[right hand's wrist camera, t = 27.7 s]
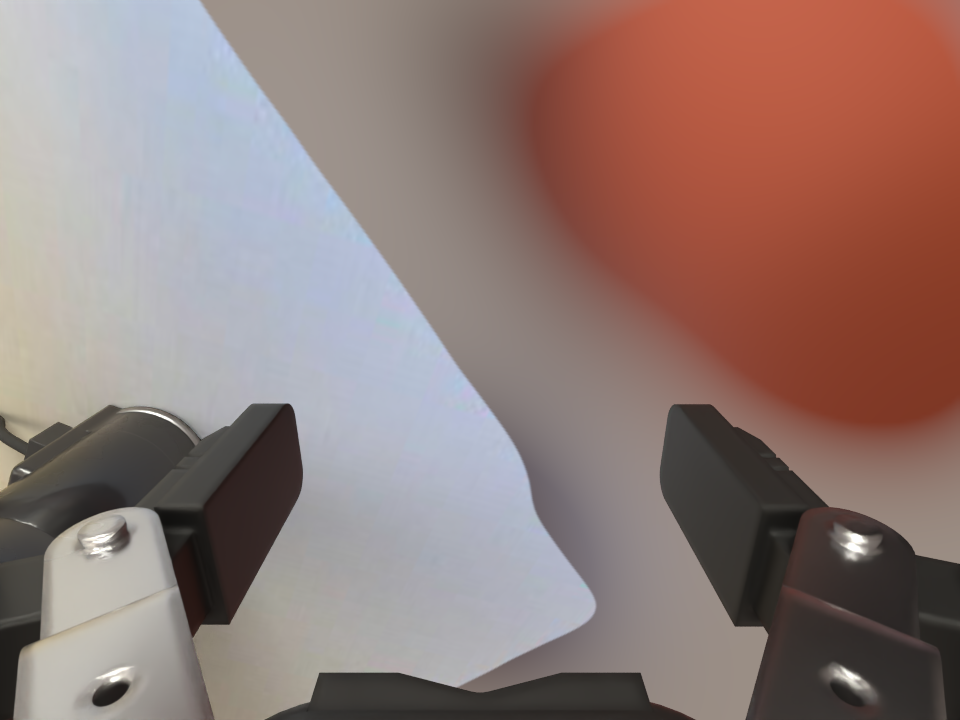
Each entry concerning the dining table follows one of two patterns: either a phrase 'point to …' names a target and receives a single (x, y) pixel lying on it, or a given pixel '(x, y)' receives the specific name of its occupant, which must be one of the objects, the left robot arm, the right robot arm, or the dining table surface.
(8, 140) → the dining table surface
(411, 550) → the dining table surface
